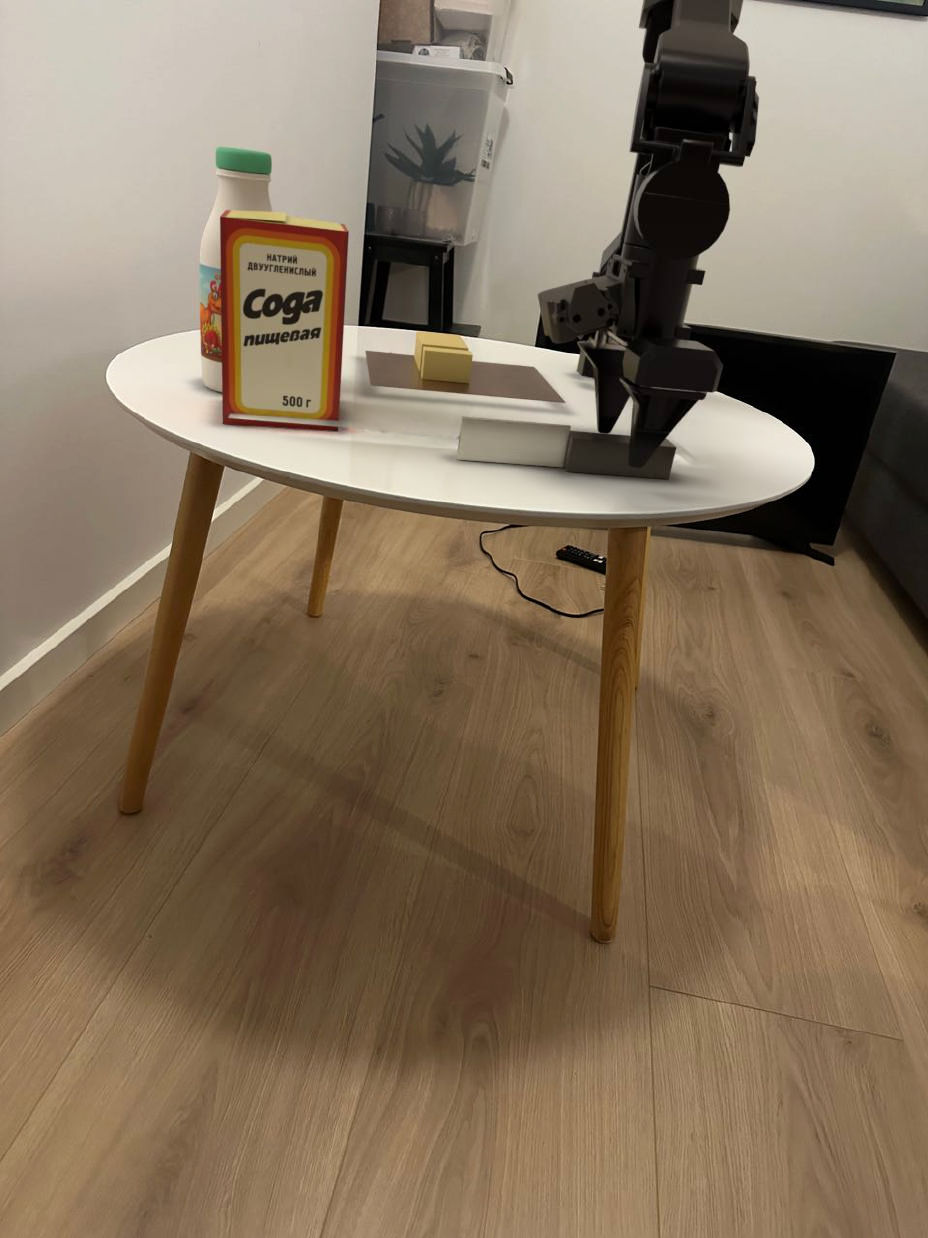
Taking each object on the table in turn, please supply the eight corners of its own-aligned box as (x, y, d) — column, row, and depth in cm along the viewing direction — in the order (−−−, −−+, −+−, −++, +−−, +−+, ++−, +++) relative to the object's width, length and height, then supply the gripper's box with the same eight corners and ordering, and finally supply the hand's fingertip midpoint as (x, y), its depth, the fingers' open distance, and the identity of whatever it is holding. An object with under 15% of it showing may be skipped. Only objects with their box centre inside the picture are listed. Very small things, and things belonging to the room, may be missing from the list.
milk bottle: (193, 376, 83) (187, 140, 73) (272, 376, 86) (275, 152, 77) (212, 398, 77) (207, 145, 67) (295, 397, 80) (302, 157, 71)
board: (533, 375, 102) (534, 366, 101) (564, 412, 88) (566, 402, 87) (364, 359, 98) (365, 350, 98) (369, 395, 84) (370, 384, 84)
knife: (659, 469, 74) (669, 430, 72) (669, 479, 72) (678, 438, 70) (455, 454, 71) (460, 412, 69) (459, 463, 69) (464, 420, 67)
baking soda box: (335, 410, 78) (344, 218, 71) (338, 431, 73) (349, 226, 65) (227, 402, 76) (225, 204, 69) (222, 423, 71) (219, 211, 63)
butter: (457, 361, 98) (460, 335, 97) (465, 376, 92) (468, 347, 91) (414, 357, 97) (416, 330, 96) (419, 372, 91) (422, 343, 90)
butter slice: (467, 379, 91) (470, 350, 90) (469, 383, 89) (472, 354, 88) (420, 375, 90) (423, 346, 89) (421, 379, 89) (424, 349, 87)
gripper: (532, 224, 71) (505, 410, 78) (591, 249, 55) (549, 480, 62) (659, 240, 73) (621, 420, 80) (752, 268, 57) (693, 491, 64)
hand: (618, 449), depth 71 cm, fingers open, 9 cm apart
